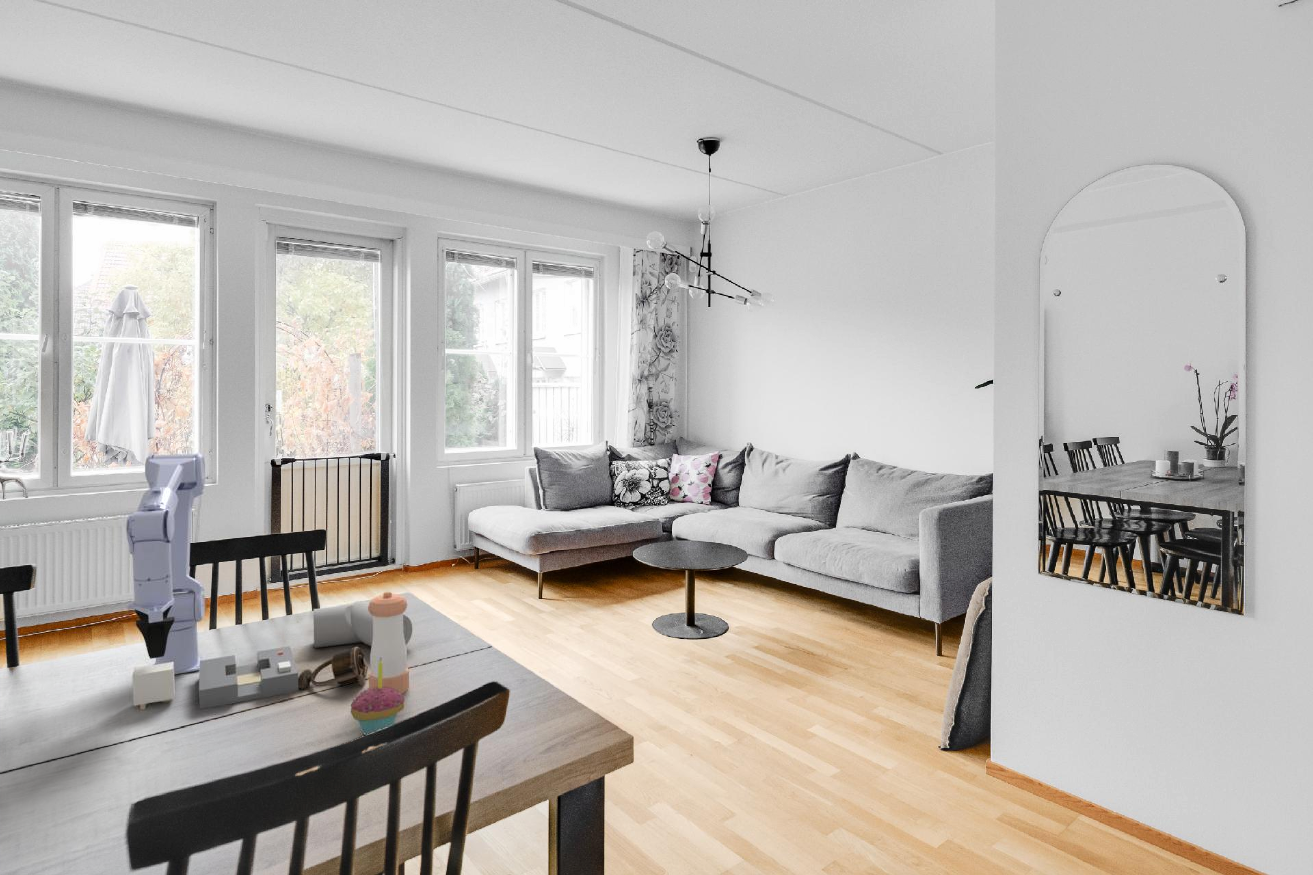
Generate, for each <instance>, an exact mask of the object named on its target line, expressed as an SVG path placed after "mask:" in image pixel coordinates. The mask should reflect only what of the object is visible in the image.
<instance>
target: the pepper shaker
mask: <svg viewBox="0 0 1313 875" xmlns="http://www.w3.org/2000/svg"><path fill="white" fill-rule="evenodd" d="M407 607H408V601H407V599H406V598H405V597H404V596H403V595H400V594H397V593H393V592H392V591H390V590H389V591H388V590H387V591H385V592H383V594H380V595H378V596H375V597H374V598H372V599H371V600H370V601H369V606H368V610H369V612H370V614H371V615H373V640H372V646H370V648H371V649H370V655H369V660H370V672H369V673H368V689H372V688H375V687H378V667H379V662H380V657H382V659H381V662H383V669H382V686H384V687H390V688H394V689H397V691H399V693H402V694H404V693H406V692H407V691H408V690H409V689H410V671H409V670H410V669H409V668H408V667H407V666H408V664H407V661H408V658H407V657H408V651H407V645H405V639H404V634H403V615H404V613H405V611H406V610H407Z"/></svg>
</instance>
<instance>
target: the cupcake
mask: <svg viewBox="0 0 1313 875" xmlns="http://www.w3.org/2000/svg"><path fill="white" fill-rule="evenodd" d="M381 659H382V657H380V662H379V667H378V687H375V688H372V689H369V688H367V689H364V690H363V691H362V692H361V691H360V693H359V694H358V695H356V696H355V698H354V699H352V702H351V704H350V707H351V709H350V714H351V716H352V718H353V719H354V720H357V722H358V724H359V725H360V728H361V732H362V734H364V733H365V734H364V735H365V736H367V734H370V733H372V732H376V731H377V730H379V729H383V728H385V727H388V726H390V725H393V726H394V724H395V721H396V719H397V716H398V713H399V712H401V711H403V710H404V708H405V699H404V696H403V693H399V691H397V689H394V688H390V687H384V686H382V669H383V662H381Z"/></svg>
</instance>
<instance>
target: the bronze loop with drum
mask: <svg viewBox="0 0 1313 875" xmlns="http://www.w3.org/2000/svg"><path fill="white" fill-rule="evenodd" d="M330 665H331V672H332V673H333V674H332V675H333V677H334V678H331V679H328V680H324V681H316V680H315V679H316V677H317V675H318V674H319V673H320V672H321V671H322V670H324V669H325V668H327V667H329V666H330ZM368 669H369V666H368V664H367V661H366V658H365V653H364V651H363V649H362V648H360V647H359V646H354V647H352V648H351V647H350V648H348V649H345V650H341V651H339V652H335V653H334V654H333V655H332V658H331V659H329V660H326V661H324V662H322V663H321V664H320V665H319V666H317V667H316V668H315V669H314V670H313V671H312V670H310V669H309V668H308V669H304V670H303V671H302V672H301V673H300V674H298V688H299V689H301V690H304V689H307V688H308V687H309V686H310V685H311V684H312V685H313V686H314V687H317V688H318V687H320V688H323V687H328V686H331V685H335V684H338V686H345V685H349V684H351V683H354V682H358V683H359V686H360V687H364V685H365V682H366V678H367V673H368Z"/></svg>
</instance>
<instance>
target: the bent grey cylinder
mask: <svg viewBox="0 0 1313 875" xmlns="http://www.w3.org/2000/svg"><path fill="white" fill-rule="evenodd" d="M369 603H370V602H369ZM369 603H368V602H365V601H362V600H356V601H355V602H353V604H351V605H342V606H341V605H339V606H331V607H322V608H313V646H314V649H317V648H323V647H324V648H325V647H326V648H327V647H332V646H340V645H349V644H357V643H364V644H365V645H368V646H370V647H372V640H373V615H371V614H370V612H369V610H368V606H369ZM403 634H404V639H405V645H406V646H407V645H408V644H409V642H410V640H411V638H412V636H413V635H412V634H413V622H412V620H411V619H410V618H409V617H408V616H407V615H405V614H403Z"/></svg>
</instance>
